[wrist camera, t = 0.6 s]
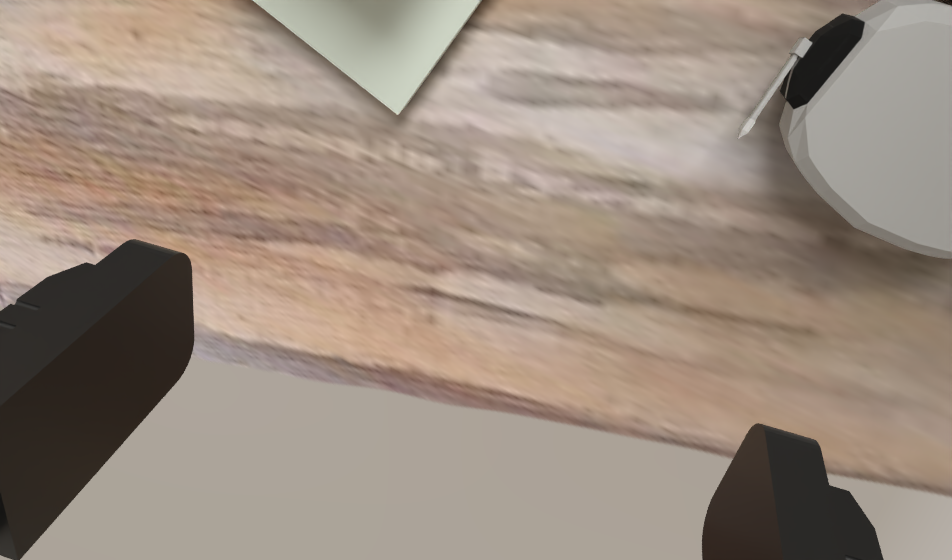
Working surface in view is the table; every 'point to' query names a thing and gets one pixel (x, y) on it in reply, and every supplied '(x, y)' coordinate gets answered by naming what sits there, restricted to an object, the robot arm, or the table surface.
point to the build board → (377, 38)
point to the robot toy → (876, 120)
